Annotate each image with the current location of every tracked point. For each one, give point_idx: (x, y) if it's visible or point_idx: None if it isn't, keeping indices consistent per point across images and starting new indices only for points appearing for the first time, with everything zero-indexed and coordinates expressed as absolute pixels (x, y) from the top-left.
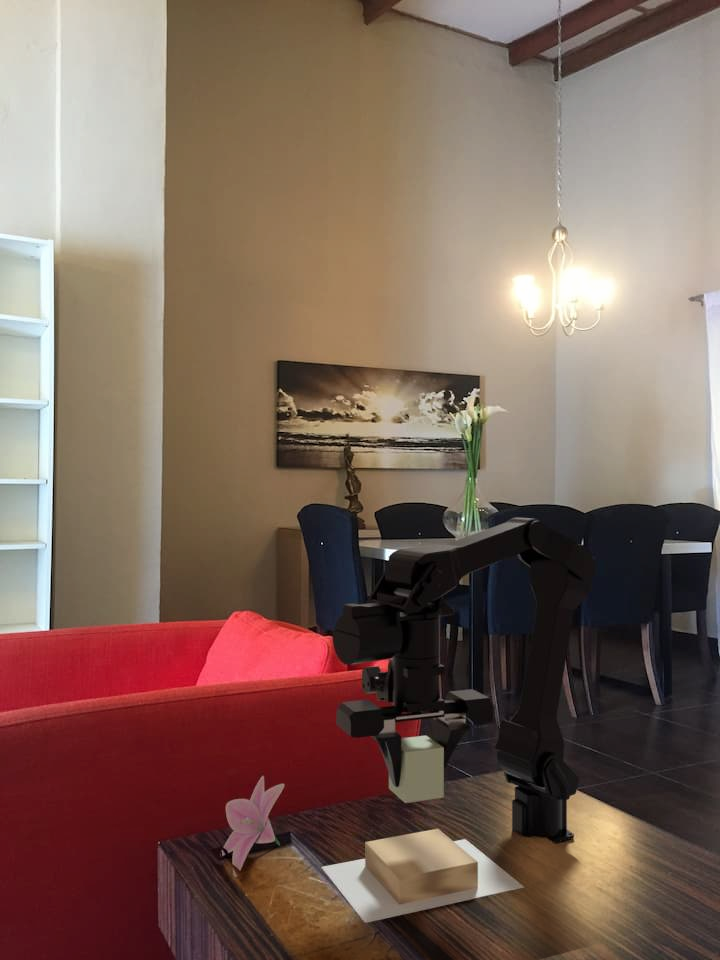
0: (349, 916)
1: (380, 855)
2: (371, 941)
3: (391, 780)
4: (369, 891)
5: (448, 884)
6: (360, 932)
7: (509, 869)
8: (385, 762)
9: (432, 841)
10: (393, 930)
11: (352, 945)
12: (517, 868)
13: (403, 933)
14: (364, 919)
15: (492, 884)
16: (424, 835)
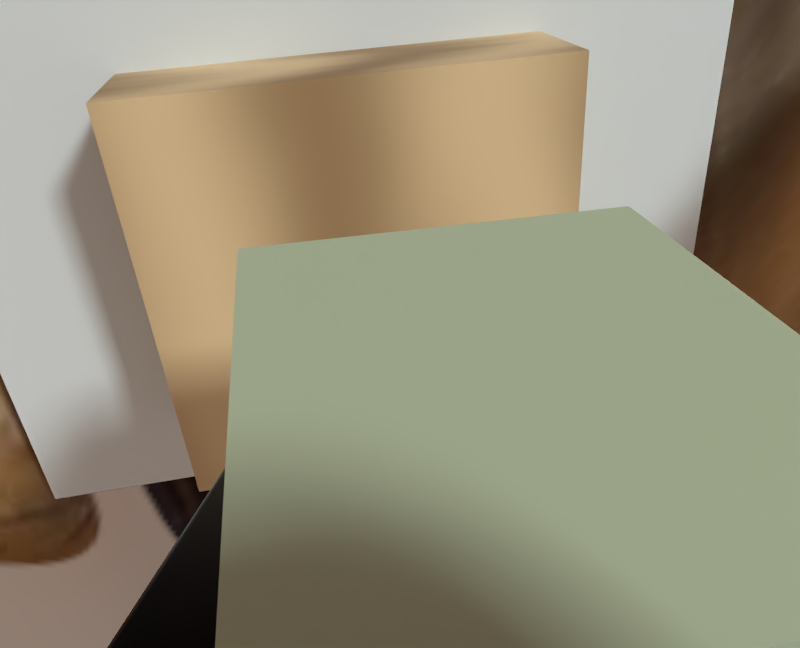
0: (8, 397)
1: (154, 289)
2: (76, 531)
3: (217, 481)
4: (102, 311)
5: None
6: (43, 487)
7: (734, 216)
8: (120, 635)
9: (480, 204)
10: (161, 493)
11: (9, 541)
12: (764, 217)
13: (190, 510)
14: (54, 484)
15: None
16: (472, 120)
